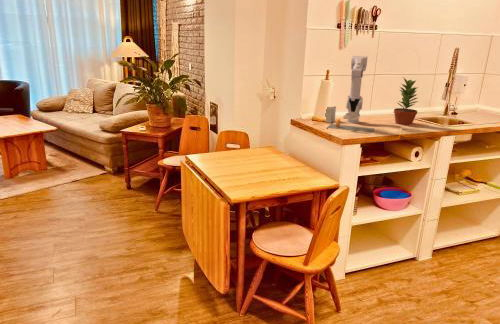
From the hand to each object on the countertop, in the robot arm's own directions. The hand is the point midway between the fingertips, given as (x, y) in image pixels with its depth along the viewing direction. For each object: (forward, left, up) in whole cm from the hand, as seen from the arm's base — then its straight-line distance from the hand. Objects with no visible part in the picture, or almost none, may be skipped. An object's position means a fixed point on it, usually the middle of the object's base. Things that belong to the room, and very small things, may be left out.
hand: (353, 111), depth 236 cm
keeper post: (+5, -8, -10) cm, 14 cm away
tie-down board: (+5, 0, -10) cm, 11 cm away
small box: (-12, -18, -11) cm, 24 cm away
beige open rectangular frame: (+6, 0, -3) cm, 6 cm away
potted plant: (-31, +29, -11) cm, 44 cm away
